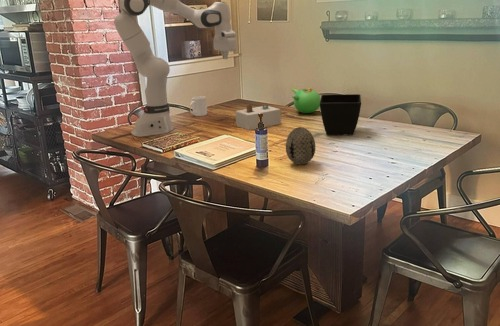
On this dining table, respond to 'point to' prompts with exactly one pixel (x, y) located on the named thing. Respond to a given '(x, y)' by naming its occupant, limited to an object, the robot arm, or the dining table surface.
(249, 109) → the walnut plug
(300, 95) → the green teapot
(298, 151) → the decorative egg
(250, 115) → the socket block
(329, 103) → the flower pot
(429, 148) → the dining table surface
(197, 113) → the mug
